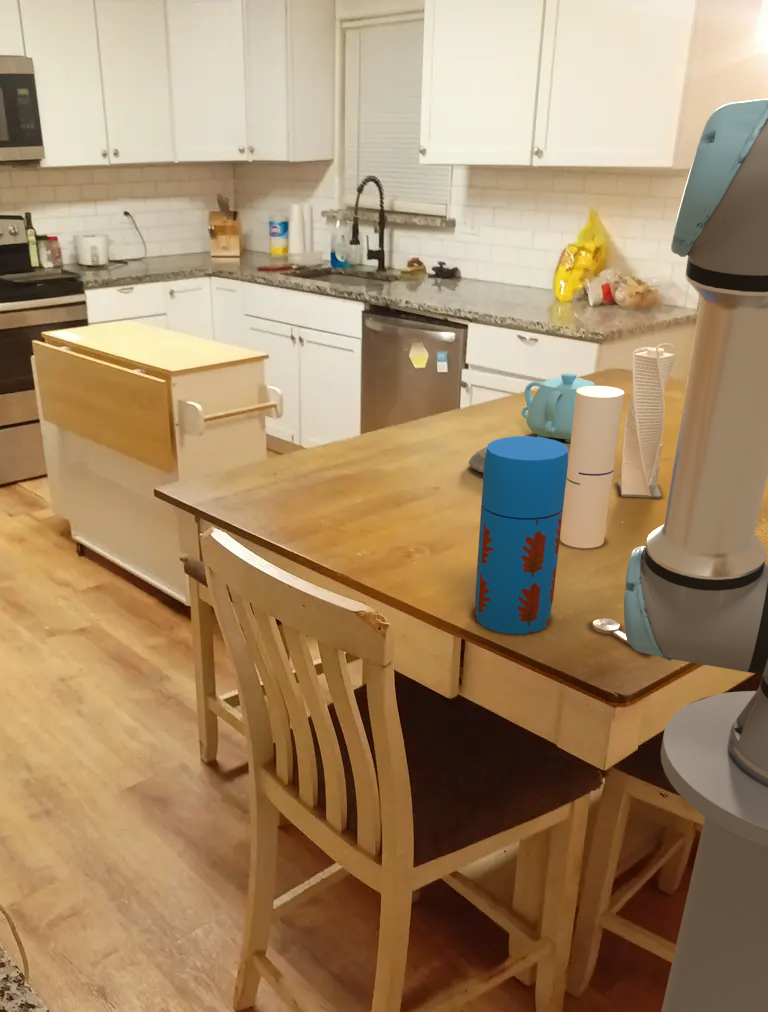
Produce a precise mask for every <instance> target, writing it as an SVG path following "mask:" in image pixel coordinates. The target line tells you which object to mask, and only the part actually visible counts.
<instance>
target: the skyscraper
mask: <svg viewBox="0 0 768 1012" xmlns="http://www.w3.org/2000/svg"><path fill="white" fill-rule="evenodd" d="M662 347H670V348H671V349H672V351H673V353H669V352H665V349H664V348H662ZM644 350H646V351H644ZM639 351H642V352H639ZM677 356H678V354H677V350H676V348H675V346H674V345H673V344H672V343H669V342H663V343H659V344H657V346H655V347H652V346H641V347H637V348H635V349H634V350H633V351H632V393H631V396H630V400H629V403H628V407H627V410H626V411H627V412H626V415H625V423H624V429H623V436H622V437H623V438H622V449H621V479H620V481H618V482H617V485H618V489H619V492H620V497H622V498H643V499H645V498H646V499H661V498H662V494H661V491H660V489H659V487H658V479H659V473H660V468H661V467H660V462H661V461H660V460H661V457H662V451H663V443H662V438H663V433H664V426H665V416H666V415H665V414H666V413H665V411H666V403H665V389H666V388H667V384H668V381H669V380H670V379H669V378H670V376H671V373H672V370H673V367H674V364H675V362H676V358H677Z"/></svg>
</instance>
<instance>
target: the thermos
mask: <svg viewBox="0 0 768 1012" xmlns="http://www.w3.org/2000/svg"><path fill="white" fill-rule="evenodd" d="M486 447H487V450H486V455H485V460H484V473H482V477H483V478H482V487H481V489H482V492H481V502H480V503H481V505H480V517H479V518H480V520H479V521H480V522H479V533H478V534H479V535H478V549H477V565H476V577H475V578H476V579H475V590H474V591H475V593H474V596H475V599H474V601H475V603H474V606H475V607H474V616H475V619H476V621H477V622H478V624H480V625H482V626H483V627H484V628H486V629H489V630H492V631H494V632H497V633H502V634H507V635H527V634H532V633H537V632H539V631H541V630H543V629H545V628H546V627H547V626H548V625H549V623H550V618H551V613H552V607H553V602H554V593H555V587H556V586H555V584H556V576H557V566H558V558H559V548H560V542H561V540H560V533H561V524H562V515H563V507H564V498H565V489H566V480H567V471H568V462H569V447H568V446H567V445H566V444H565V443H562V442H561V441H558V440H555V439H551V438H542V437H537V436H530V435H525V436H524V435H523V436H522V435H521V436H519V435H518V436H507V437H502V438H498V439H494V440H492V441H490V442H489V443H488V444H487V446H486Z"/></svg>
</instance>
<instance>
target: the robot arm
mask: <svg viewBox="0 0 768 1012" xmlns="http://www.w3.org/2000/svg"><path fill="white" fill-rule="evenodd" d="M692 159H693V160H692V164H691V167H690V169H689V173H688V176H687V180H686V183H685V186H684V191H683V194H682V197H681V202H680V205H679V208H678V213H677V217H676V221H675V225H674V231H673V235H672V241H671V244H670V250H671V252H672V254H675V255H678V256H679V257H681V258H686V257H687V260H686V261H687V262H686V269H685V276H684V277H685V280H686V281H687V282H688V284H690V285H691V287H692V288H693V289H694V290H695V291H696V293H698V295H699V303H698V305H699V306H698V310H697V316H696V322H695V329H694V334H693V335H694V336H693V342H692V348H691V353H690V361H689V367H688V373H687V379H686V385H685V391H684V398H683V405H682V410H681V411H682V412H681V416H680V422H679V424H680V425H679V430H678V436H677V441H676V448H675V454H674V461H673V468H672V472H671V473H672V474H671V480H670V486H669V492H668V497H667V498H668V499H667V505H666V511H665V518H664V523H663V524H662V525H660V526H658V527H656V528H655V529H654V530H653V531H651V533H649V534H648V535H647V538H646V542H645V546H644V545H641V546H637V547H635V548H634V549H633V550H631V553H630V556H629V560H628V562H627V567H626V568H627V570H626V575H625V590H624V596H623V623H624V634H626V638H627V641H628V643H629V644H630V645H631V646H630V645H629V644H628V645H629V646H630V647H631V648H632V649H633V650H635V651H636V652H638V653H642V654H644V653H645V654H644V655H650V656H654V657H660V658H661V659H663V660H666V661H673V660H674V661H681V662H686V663H692V664H698V665H704V666H710V667H716V668H721V669H722V668H723V669H727V670H734V671H738V672H739V671H740V672H745V673H750V674H755V675H760V676H761V678H760V683H759V687H758V688H757V690H755V691H756V693H755V694H754V695H753V697H752V698H751V700H750V701H749V702H748V704H747V705H746V707H745V708H744V709H743V711H742V712H741V714H740V715H739V716H738V718H737V719H736V721H735V722H734V723H733V725H732V727H731V731H730V735H729V740H728V745H727V748H728V752H729V755H730V757H731V759H732V761H733V762H734V763H735V764H736V766H737V767H738V768H739V769H740V770H741V771H742V772H744V773H745V774H746V775H747V776H749V777H750V778H752V779H753V780H755V781H757V782H758V783H760V784H762V785H764V786H766V787H768V563H767V562H766V561H767V557H768V552H767V548H766V546H765V544H764V543H763V541H761V540H760V538H759V537H758V536H757V535H755V533H756V530H757V525H758V521H759V516H760V511H761V507H762V503H763V499H764V494H765V489H766V484H767V481H768V98H760V99H753V100H743V101H735V102H730V103H725V104H723V105H722V106H720V107H719V108H717V109H716V110H715V111H713V113H712V114H711V115H709V118H708V119H707V120H706V122H705V124H704V127H703V130H702V132H701V135H700V138H699V141H698V143H697V147H696V149H695V154H694V156H693V158H692Z"/></svg>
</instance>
